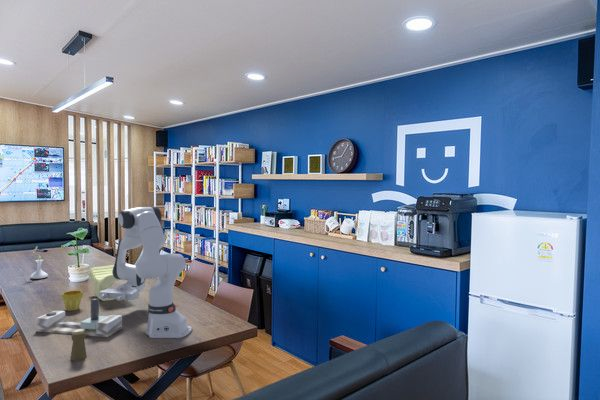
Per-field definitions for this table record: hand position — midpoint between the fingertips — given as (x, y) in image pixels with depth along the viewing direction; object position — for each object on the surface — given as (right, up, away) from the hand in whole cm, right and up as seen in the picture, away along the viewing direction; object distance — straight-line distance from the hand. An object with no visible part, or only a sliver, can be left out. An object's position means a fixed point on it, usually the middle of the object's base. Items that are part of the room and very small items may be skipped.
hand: (109, 298), depth 205 cm
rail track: (-10, -13, -11) cm, 20 cm away
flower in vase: (-98, -7, +88) cm, 132 cm away
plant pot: (-32, -12, +20) cm, 40 cm away
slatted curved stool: (-23, -11, +45) cm, 52 cm away
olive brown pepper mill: (+7, -15, -41) cm, 45 cm away
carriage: (-2, -12, -12) cm, 17 cm away
